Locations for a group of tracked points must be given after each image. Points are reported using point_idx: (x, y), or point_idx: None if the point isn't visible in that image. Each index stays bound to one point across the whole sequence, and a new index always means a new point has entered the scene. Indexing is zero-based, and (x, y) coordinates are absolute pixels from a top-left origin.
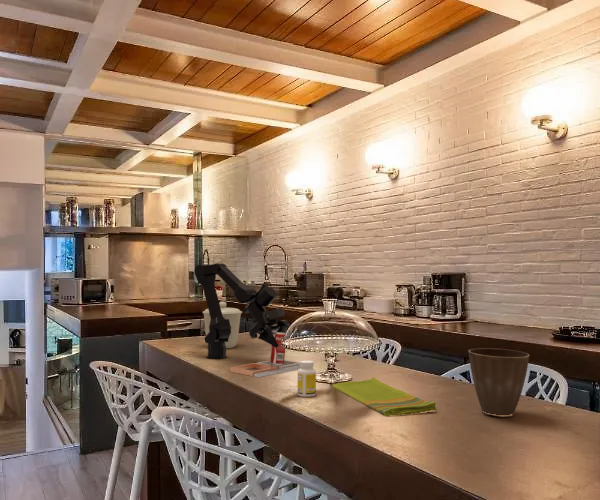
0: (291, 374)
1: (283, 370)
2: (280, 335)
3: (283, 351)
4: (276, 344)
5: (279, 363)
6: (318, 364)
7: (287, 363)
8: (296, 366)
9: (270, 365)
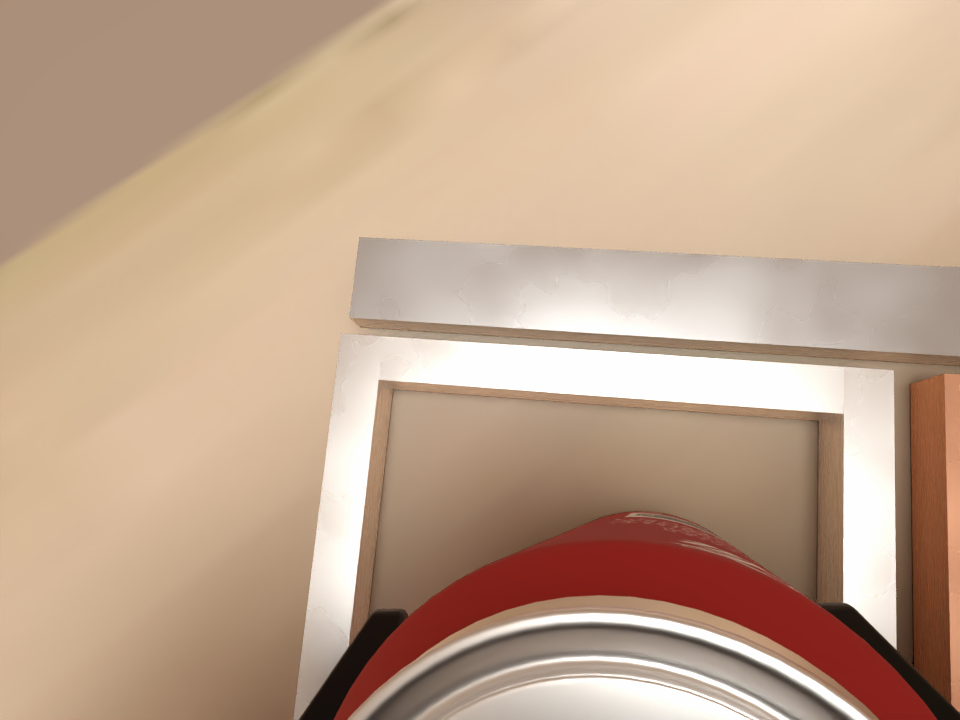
0: (914, 103)
1: (899, 270)
2: (876, 666)
3: (637, 519)
4: (899, 664)
5: (708, 530)
6: (45, 289)
7: (361, 621)
8: (558, 277)
9: (895, 594)
